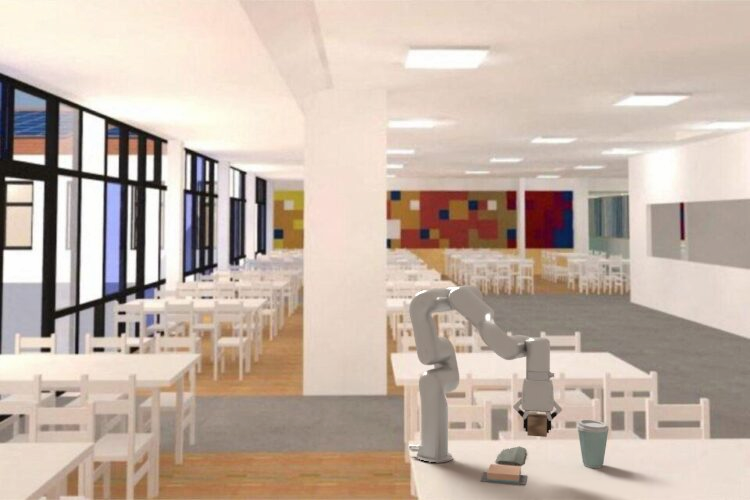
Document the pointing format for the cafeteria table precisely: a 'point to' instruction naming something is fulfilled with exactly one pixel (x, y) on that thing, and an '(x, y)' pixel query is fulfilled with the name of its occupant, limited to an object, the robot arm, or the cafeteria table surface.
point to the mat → (521, 482)
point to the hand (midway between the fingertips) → (537, 430)
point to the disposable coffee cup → (592, 442)
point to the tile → (504, 473)
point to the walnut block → (537, 425)
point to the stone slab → (512, 456)
